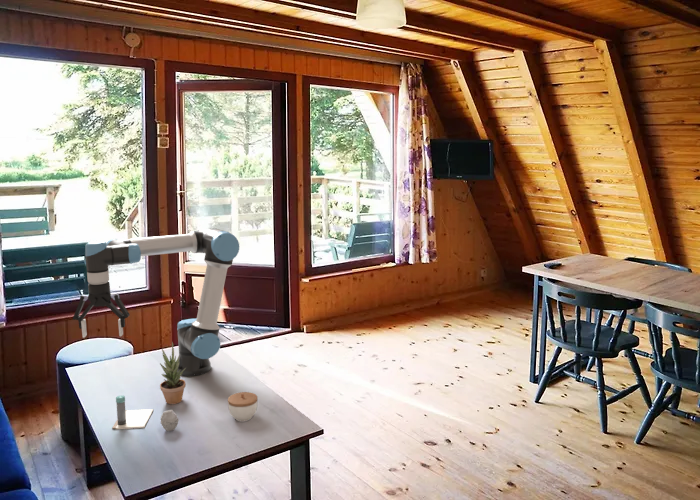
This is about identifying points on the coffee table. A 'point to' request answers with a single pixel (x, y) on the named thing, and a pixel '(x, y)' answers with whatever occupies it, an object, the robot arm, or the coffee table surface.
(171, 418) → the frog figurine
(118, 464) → the coffee table surface
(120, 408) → the marker
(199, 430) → the coffee table surface
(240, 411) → the lidded jar
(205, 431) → the coffee table surface
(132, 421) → the notepad
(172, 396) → the potted plant
